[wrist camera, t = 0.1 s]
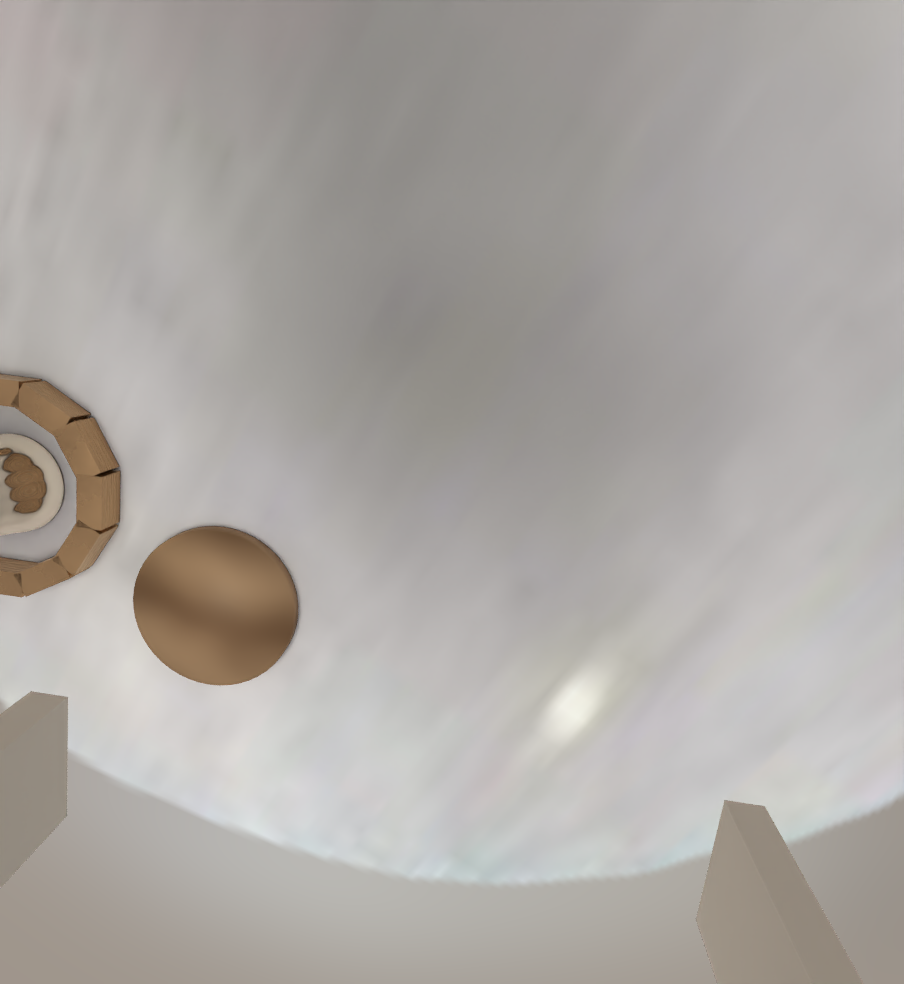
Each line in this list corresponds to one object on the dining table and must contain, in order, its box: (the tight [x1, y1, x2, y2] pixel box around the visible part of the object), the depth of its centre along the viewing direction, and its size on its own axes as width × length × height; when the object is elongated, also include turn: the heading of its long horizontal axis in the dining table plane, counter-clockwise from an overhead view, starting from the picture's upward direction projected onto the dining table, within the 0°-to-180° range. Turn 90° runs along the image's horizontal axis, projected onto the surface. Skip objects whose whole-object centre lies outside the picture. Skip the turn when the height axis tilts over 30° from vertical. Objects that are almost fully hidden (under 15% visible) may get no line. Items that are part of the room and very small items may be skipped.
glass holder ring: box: [0, 374, 120, 597], centre depth 42 cm, size 13×13×2 cm
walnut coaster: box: [133, 526, 298, 685], centre depth 43 cm, size 10×10×1 cm
